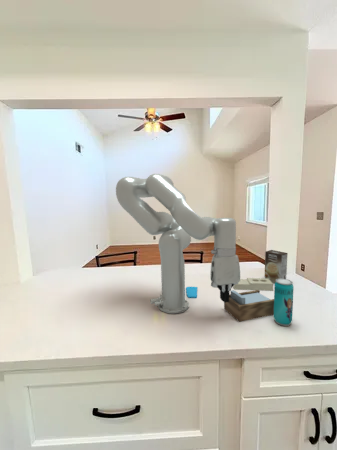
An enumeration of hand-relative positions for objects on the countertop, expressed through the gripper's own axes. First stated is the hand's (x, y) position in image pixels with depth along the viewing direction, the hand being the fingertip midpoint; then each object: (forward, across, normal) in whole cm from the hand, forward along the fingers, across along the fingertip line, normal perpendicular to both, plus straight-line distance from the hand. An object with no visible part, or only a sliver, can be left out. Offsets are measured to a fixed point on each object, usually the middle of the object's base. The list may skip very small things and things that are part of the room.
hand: (224, 300), depth 79 cm
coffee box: (+6, +44, +23) cm, 50 cm away
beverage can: (+6, +17, -10) cm, 21 cm away
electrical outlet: (+7, +28, +20) cm, 35 cm away
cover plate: (+2, +11, 0) cm, 12 cm away
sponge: (+7, -4, +24) cm, 25 cm away
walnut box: (+6, +11, 0) cm, 12 cm away
